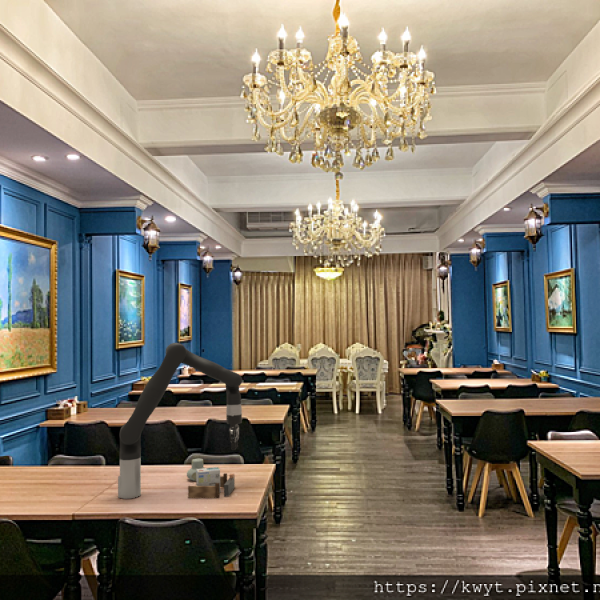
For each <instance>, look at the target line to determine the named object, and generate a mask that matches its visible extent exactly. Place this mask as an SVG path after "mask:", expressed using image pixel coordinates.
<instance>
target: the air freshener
mask: <svg viewBox="0 0 600 600" xmlns="http://www.w3.org/2000/svg"><path fill="white" fill-rule="evenodd" d="M202 468H205V467H204V459H203V458H193V459H191V468H189V469H188V470H187V472H186V477H187V479H188V480H190V481H193V482H196V469H202Z"/></svg>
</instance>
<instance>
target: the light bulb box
mask: <svg viewBox="0 0 600 600" xmlns="http://www.w3.org/2000/svg"><path fill="white" fill-rule="evenodd" d="M220 476H221V469H220V468H219V466H213V467H204V468H202V469H196V481H195V482H196V485H195V486H215V484H216V483H219V490H220V493H221V488H220Z"/></svg>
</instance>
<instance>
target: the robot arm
mask: <svg viewBox="0 0 600 600" xmlns="http://www.w3.org/2000/svg"><path fill="white" fill-rule="evenodd" d="M181 364H184V365H186V366H188V367H191V368H192V369H194V370H196V371H198V372H200V373H201V374H203V375H205V376H208V377H210V378H212V379H215V380H217V381H220V382H222V383H224V384H225V390H226V410H225V411H226V413H225V414H226V424H227V425H230V427H229V430H228V434H229V435H228V436H229V442H230V450H231V451H235V450H236V449H237V448H239V445H238V444H239V442H238V441H239V438H240V424H242V423H243V412H242V411H243V409H242V396H241V391H240V386H241V385H242V382H243V378H242V376H241V375H240V374H239V373H237V372H235V371H233V370H230V369H228V368H226V367H223V366H222V365H220V364H218V363H216V362H214V361H212V360H209V359H206V358H205V357H202V356H199V355H197V354H195V353H193V352H192V351H190V350H188V349H186V347H185V346H184V345H183V344H181V343H179V342H172V343H170V344H168V345H167V346H166V348H165V355H164V358H163V360H162V362H161V365H160V366H159V367H158V369H157V370H156V371H155V372H154V374H153V375H152V376H151V377H150V379H149V380H148V382H147V383H146V385H145V386H144V388H143V390H142V391H141V394H140V395H139V398H138V400H137V402H136V405H135V408H134V409H133V412H132V414H131V415H130V417H129V418H128V420H127V421H126V423H124V424H123V425H122V426H121V427H120V430H119V475H118V476H117V498H121V499H125V500H129V499H135V497H136V498H139V497H140V496H142V494H141V492H142V490H141V489H142V488H141V487H142V486H141V485H142V483H141V482H142V481H141V480H142V477H141V473H142V472H141V471H142V468H141V465H142V464H141V461H142V460H141V458H142V456H141V453H142V452H141V451H142V444H141V441H142V440H141V438H142V437H141V435H142V432H143V430H144V428H145V426H146V424H147V422H148V421H149V418H150V417H151V415H152V414H153V412H154V411H155V410H156V408H157V407H158V405H159V403H160V402H161V400H162V398H163V396H164V394H165V393H166V392H167V389H168V387H169V385H170V382H171V381H172V378H173V376H174V374H175V372H176V371H177V370H178V368H179V367H180V365H181ZM138 496H139V497H138Z"/></svg>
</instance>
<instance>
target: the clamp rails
mask: <svg viewBox="0 0 600 600" xmlns="http://www.w3.org/2000/svg"><path fill="white" fill-rule="evenodd" d="M227 480H228V473H223V474H222V475H220V487H224V484H225V483H226V482H227ZM187 495H188V496H187V498H188V499H220V497H221V496H220V490H219V483H216V484H215V486H197V485H189V486H187Z"/></svg>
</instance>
